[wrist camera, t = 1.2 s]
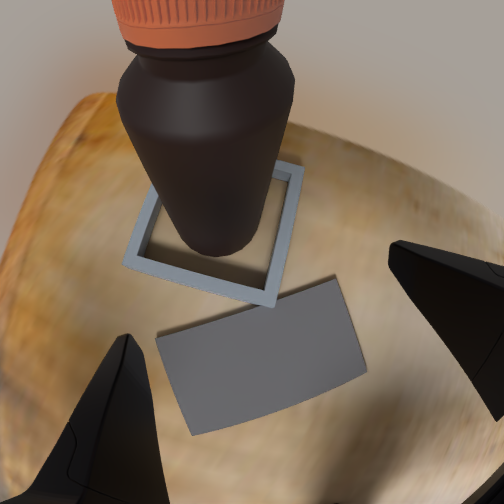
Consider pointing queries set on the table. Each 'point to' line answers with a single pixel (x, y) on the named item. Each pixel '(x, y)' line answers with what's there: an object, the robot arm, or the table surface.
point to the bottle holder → (211, 284)
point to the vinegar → (206, 111)
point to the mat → (262, 359)
